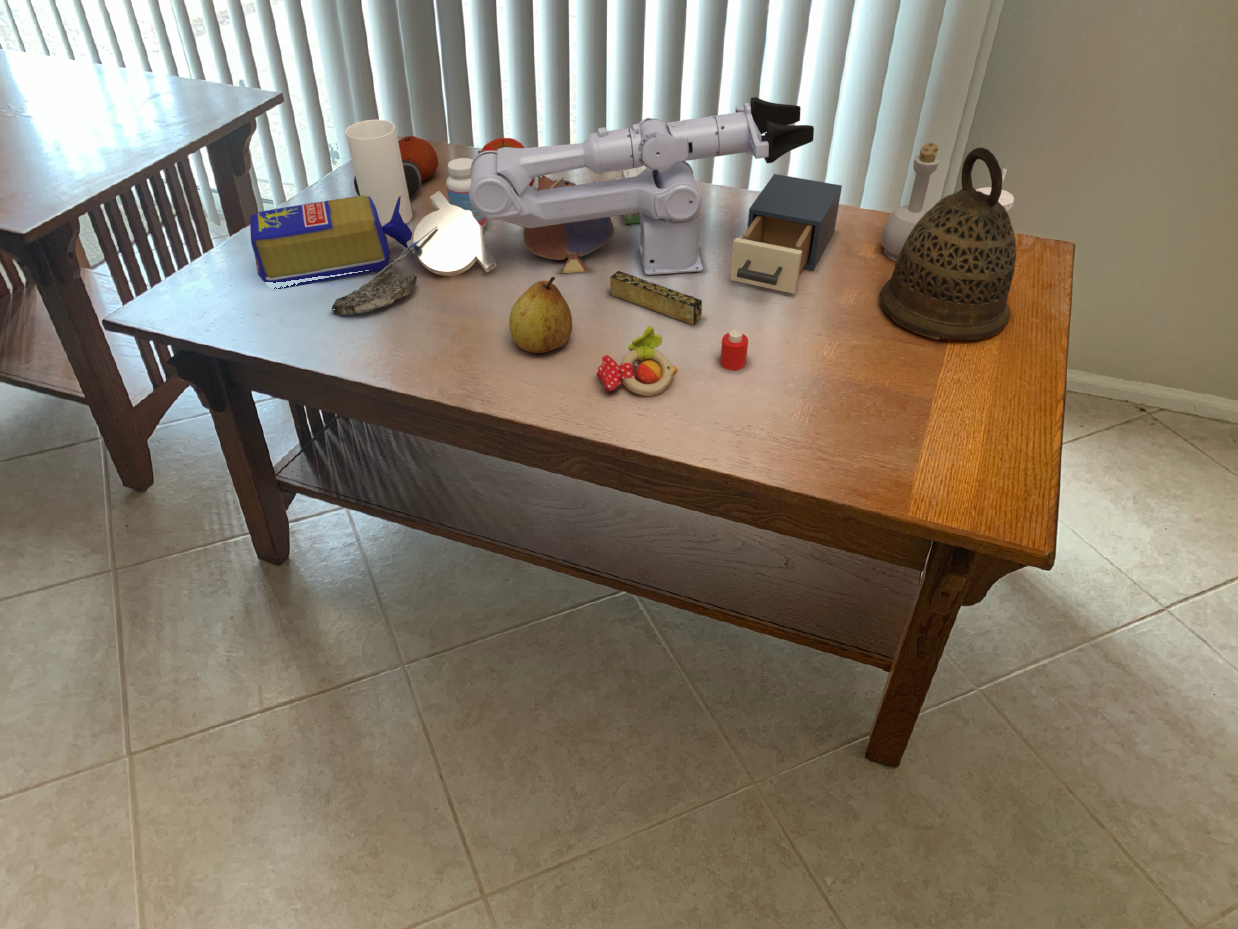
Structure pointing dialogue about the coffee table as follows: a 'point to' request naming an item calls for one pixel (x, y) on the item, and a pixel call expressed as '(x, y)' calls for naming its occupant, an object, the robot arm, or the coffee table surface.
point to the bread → (324, 240)
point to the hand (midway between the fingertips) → (806, 123)
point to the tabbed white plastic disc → (450, 240)
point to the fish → (568, 235)
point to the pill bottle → (462, 187)
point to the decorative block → (656, 297)
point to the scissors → (400, 257)
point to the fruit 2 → (540, 318)
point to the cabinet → (801, 208)
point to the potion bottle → (910, 204)
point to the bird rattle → (639, 367)
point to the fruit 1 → (419, 154)
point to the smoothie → (1005, 197)
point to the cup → (379, 167)
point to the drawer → (772, 253)
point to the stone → (376, 294)
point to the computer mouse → (406, 177)
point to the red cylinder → (734, 350)
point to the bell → (956, 264)
